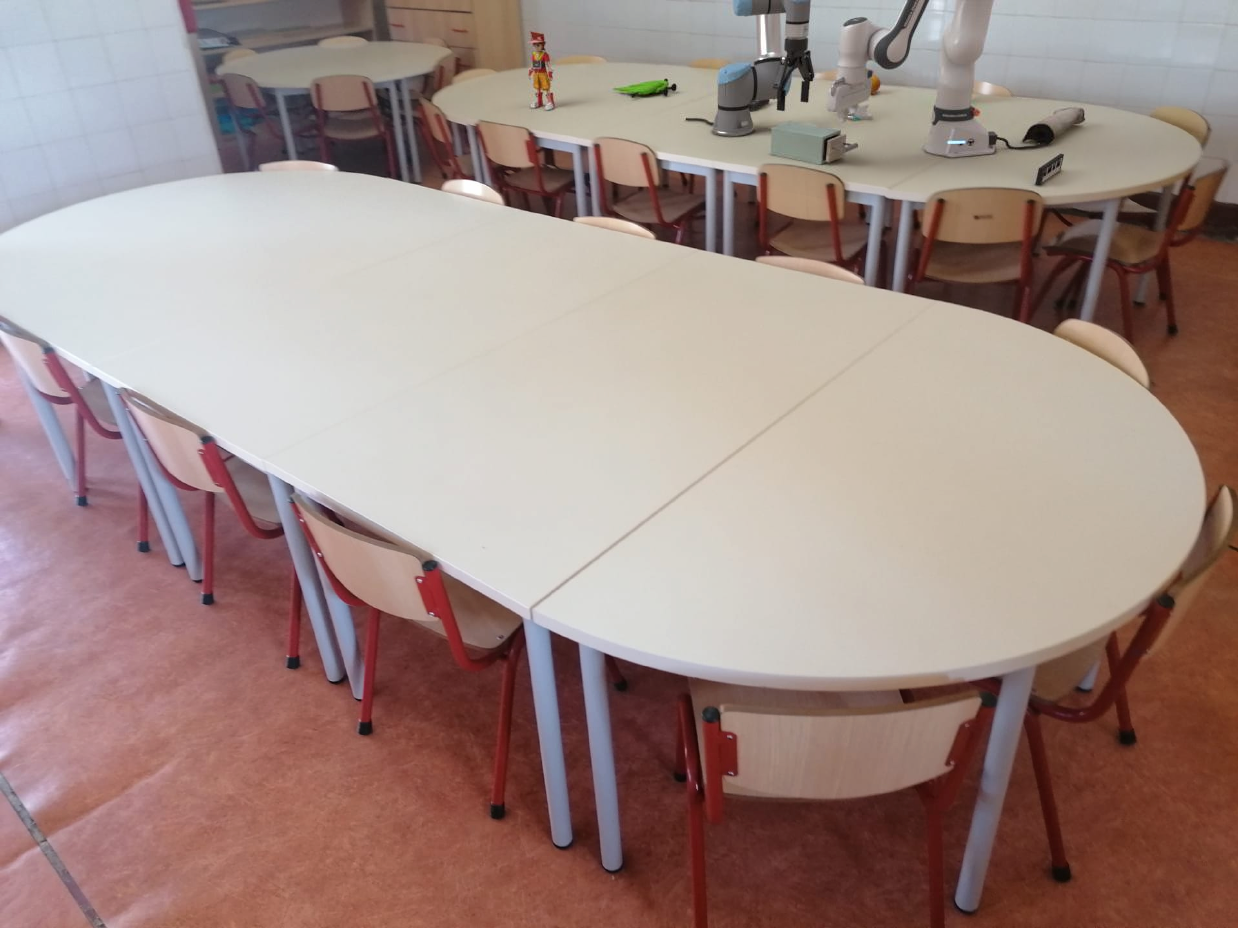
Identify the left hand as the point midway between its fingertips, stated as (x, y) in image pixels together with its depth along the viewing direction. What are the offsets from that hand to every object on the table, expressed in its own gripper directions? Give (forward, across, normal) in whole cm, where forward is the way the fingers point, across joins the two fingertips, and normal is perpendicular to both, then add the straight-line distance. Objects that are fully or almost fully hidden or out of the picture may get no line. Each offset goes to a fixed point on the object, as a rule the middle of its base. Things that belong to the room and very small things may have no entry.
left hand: (792, 106), depth 302 cm
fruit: (+15, +88, +23) cm, 92 cm away
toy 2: (+15, +39, +108) cm, 116 cm away
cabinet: (+15, 0, -6) cm, 17 cm away
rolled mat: (+15, +68, -62) cm, 94 cm away
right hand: (+2, 0, -21) cm, 21 cm away
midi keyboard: (+15, +21, -80) cm, 85 cm away
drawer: (+14, 0, -12) cm, 19 cm away
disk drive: (+15, +45, +51) cm, 70 cm away
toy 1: (+15, -4, +125) cm, 126 cm away
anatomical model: (+15, +53, +8) cm, 56 cm away
